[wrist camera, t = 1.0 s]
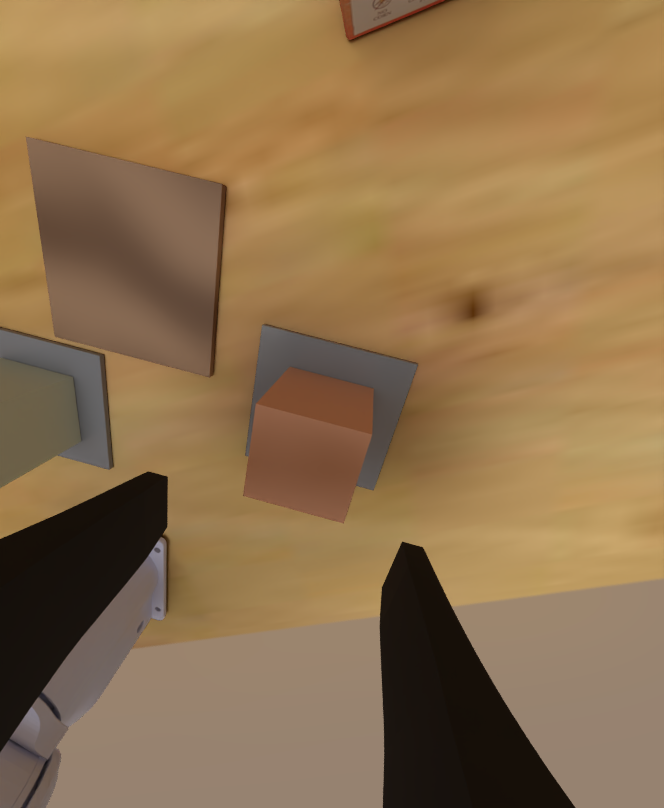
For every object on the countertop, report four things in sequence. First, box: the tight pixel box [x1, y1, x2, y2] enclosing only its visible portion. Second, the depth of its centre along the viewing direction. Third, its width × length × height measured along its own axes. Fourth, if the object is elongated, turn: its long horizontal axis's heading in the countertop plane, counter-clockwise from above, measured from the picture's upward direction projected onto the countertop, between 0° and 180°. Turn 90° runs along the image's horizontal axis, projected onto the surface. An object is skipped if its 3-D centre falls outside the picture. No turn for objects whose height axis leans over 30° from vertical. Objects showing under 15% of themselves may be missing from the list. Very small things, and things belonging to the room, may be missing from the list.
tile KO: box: [245, 324, 418, 490], centre depth 17 cm, size 8×8×1 cm
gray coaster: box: [0, 327, 113, 470], centre depth 19 cm, size 8×8×1 cm
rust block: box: [243, 367, 374, 523], centre depth 15 cm, size 4×4×5 cm
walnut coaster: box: [26, 137, 226, 377], centre depth 16 cm, size 9×9×1 cm
